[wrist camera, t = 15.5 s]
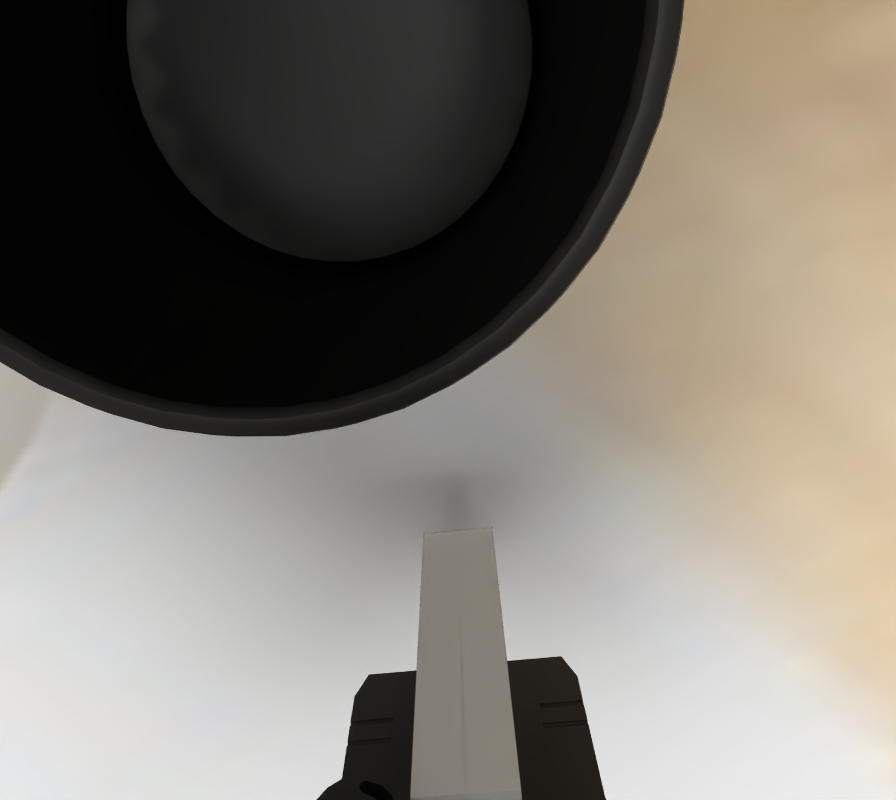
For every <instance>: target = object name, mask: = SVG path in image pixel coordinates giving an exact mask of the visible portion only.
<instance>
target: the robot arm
mask: <svg viewBox="0 0 896 800" xmlns="http://www.w3.org/2000/svg"><path fill="white" fill-rule="evenodd" d="M317 800H606V798H605V795H604V791H603V786H602V782H601V778H600V773H599V769H598V764H597V760H596V756H595V751H594V747H593V743H592V738H591V734H590V730H589V725H588V722H587V716H586V712H585V708H584V705H583V699H582V695H581V690H580V686H579V682H578V677H577V675H576V674H575V673H574V672H573V670H572V669H571V668H570V667H569V665H568V664H567V663H566V662H565V661H564V659H563V658H562V657H561V656H560V657H549V658H537V659H525V660H514V661H507V657H506V648H505V639H504V630H503V621H502V612H501V603H500V593H499V584H498V575H497V566H496V557H495V548H494V539H493V530H492V527H489V528H478V529H467V530H456V531H445V532H435V533H424V535H423V555H422V575H421V594H420V614H419V634H418V654H417V671H406V672H394V673H382V674H371V675H368V677H367V678H366V680H365V682H364V683H363V685H362V686H361V688H360V689H359V691H358V692H357V694H356V695H355V697H354V704H353V710H352V717H351V726H350V730H349V736H348V746H347V749H346V756H345V763H344V769H343V776H342V779H341V780H340V781H338V782H336V783H335V784H333V785H331V786H330V787H328V788H327V789H326V790H325V791H324V792H323V793H322V794H321V796H320V797H319V798H318V799H317Z"/></svg>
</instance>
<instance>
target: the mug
mask: <svg viewBox="0 0 896 800" xmlns="http://www.w3.org/2000/svg"><path fill="white" fill-rule="evenodd" d="M683 8H684V0H0V362H1V363H3V364H5V365H6V366H8V367H10V368H11V369H13V370H15V371H17V372H18V373H20V374H22V375H23V376H25V377H27V378H28V379H30V380H32V381H34V382H35V383H37V384H39V385H41V386H43V387H45V388H48V389H50V390H52V391H55V392H57V393H59V394H62V395H64V396H66V397H69V398H71V399H73V400H76V401H78V402H81V403H83V404H85V405H88V406H90V407H93V408H96V409H98V410H101V411H104V412H107V413H110V414H113V415H117V416H120V417H124V418H127V419H131V420H135V421H138V422H142V423H145V424H149V425H153V426H156V427H160V428H165V429H172V430H180V431H187V432H194V433H202V434H209V435H221V436H289V435H296V434H302V433H309V432H315V431H321V430H328V429H334V428H339V427H343V426H347V425H352V424H356V423H359V422H363V421H366V420H369V419H372V418H375V417H379V416H382V415H385V414H388V413H391V412H395V411H398V410H401V409H404V408H406V407H408V406H410V405H412V404H414V403H416V402H418V401H420V400H423V399H425V398H427V397H429V396H431V395H433V394H435V393H437V392H439V391H441V390H443V389H445V388H447V387H449V386H451V385H452V384H454V383H456V382H458V381H459V380H461V379H463V378H464V377H466V376H468V375H469V374H471V373H472V372H474V371H475V370H477V369H478V368H480V367H481V366H482V365H484V364H485V363H487V362H488V361H490V360H491V359H492V358H494V357H495V356H497V355H498V354H500V353H501V352H503V351H504V350H505V349H507V348H508V347H510V346H511V345H512V344H513V343H514V342H515V341H516V340H517V339H519V338H520V337H521V336H522V335H523V334H524V333H525V332H526V331H527V330H528V329H529V328H530V327H531V326H532V325H533V324H534V323H535V322H537V321H538V320H539V319H540V318H541V317H542V316H543V315H544V314H545V313H546V312H547V311H548V310H549V309H550V308H551V307H552V306H553V305H554V304H555V303H556V301H557V300H558V299H559V298H560V297H561V296H562V295H563V294H564V293H565V292H566V290H567V289H568V288H569V286H570V285H571V284H572V283H573V281H574V280H575V279H576V278H577V276H578V275H579V274H580V272H581V271H582V270H583V269H584V267H585V266H586V265H587V263H588V262H589V261H590V260H591V258H592V257H593V256H594V255H595V253H596V252H597V251H598V249H599V248H600V246H601V245H602V243H603V241H604V239H605V238H606V236H607V234H608V232H609V231H610V229H611V227H612V225H613V224H614V222H615V220H616V218H617V216H618V215H619V213H620V211H621V209H622V208H623V206H624V204H625V202H626V201H627V199H628V197H629V195H630V193H631V191H632V189H633V186H634V184H635V182H636V180H637V178H638V176H639V174H640V171H641V169H642V166H643V164H644V161H645V159H646V156H647V154H648V151H649V149H650V146H651V143H652V141H653V138H654V136H655V133H656V131H657V128H658V126H659V123H660V121H661V118H662V115H663V111H664V106H665V102H666V98H667V94H668V90H669V85H670V81H671V77H672V73H673V69H674V64H675V60H676V56H677V51H678V45H679V39H680V33H681V27H682V19H683Z"/></svg>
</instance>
